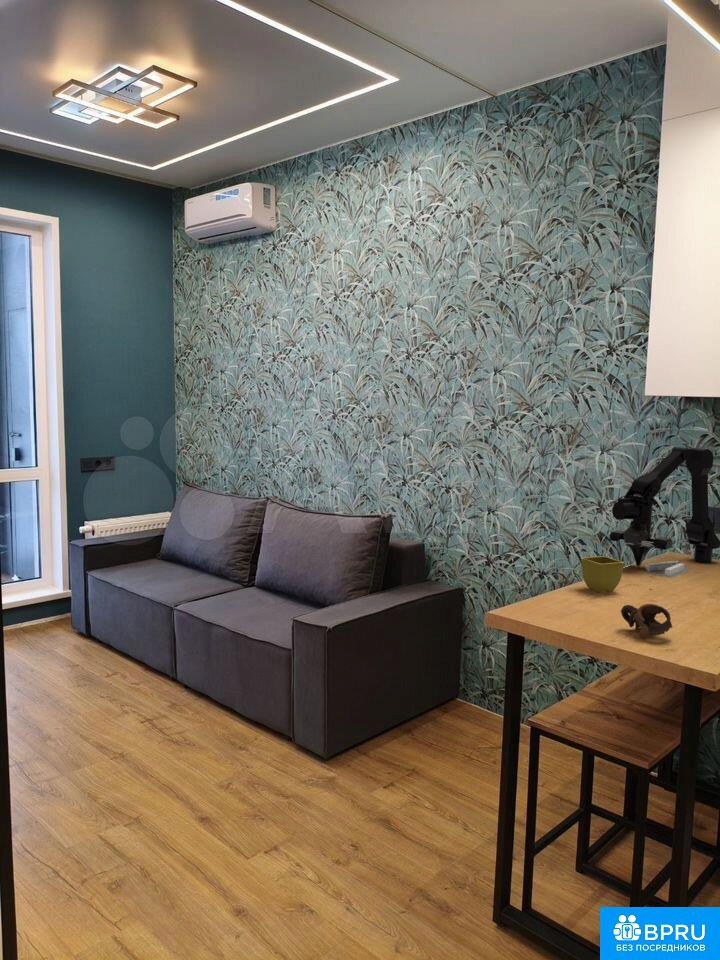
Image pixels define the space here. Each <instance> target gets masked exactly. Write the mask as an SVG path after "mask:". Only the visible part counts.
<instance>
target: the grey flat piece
mask: <svg viewBox="0 0 720 960" xmlns="http://www.w3.org/2000/svg"><path fill="white" fill-rule="evenodd" d="M685 565H686V563H682V562H680V563H679V564H676V565H674V566H671V567H669V568H666V569H664V570H655V571H648V570H645V571H644V573H646V574H651V575H658V576H660V577H661V576H662V577H668V578H675V577H678V576H680V575H682V574H684V573H687V572H689V571H691V570H692V569H690V568H685Z"/></svg>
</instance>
